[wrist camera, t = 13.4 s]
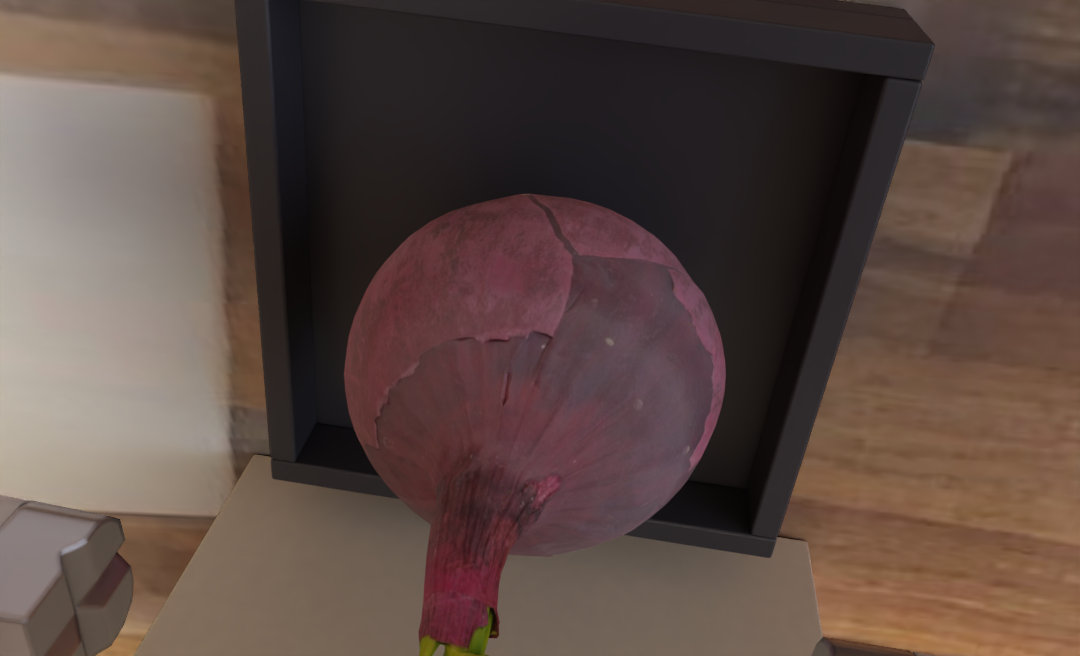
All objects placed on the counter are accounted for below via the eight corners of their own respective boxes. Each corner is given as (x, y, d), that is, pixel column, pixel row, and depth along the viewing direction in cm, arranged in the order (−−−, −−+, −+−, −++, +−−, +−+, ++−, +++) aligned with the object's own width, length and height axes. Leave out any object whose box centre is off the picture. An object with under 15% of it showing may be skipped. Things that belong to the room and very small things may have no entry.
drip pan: (280, -71, 17) (228, -47, 15) (906, 8, 16) (937, 43, 14) (305, 418, 23) (271, 480, 21) (763, 489, 22) (771, 559, 20)
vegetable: (354, 285, 20) (113, 686, 11) (520, 53, 17) (360, 365, 8) (583, 437, 21) (520, 894, 13) (776, 247, 18) (859, 683, 10)
